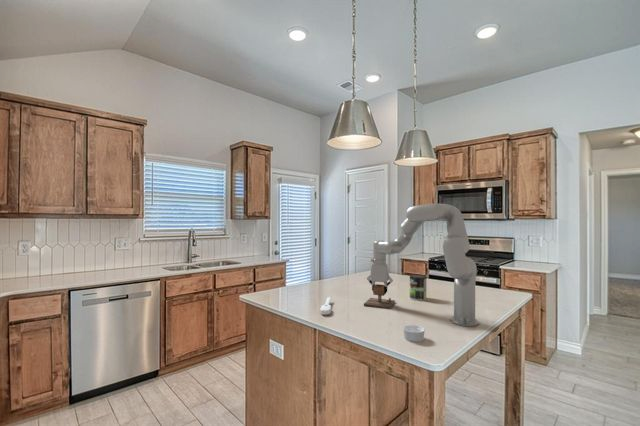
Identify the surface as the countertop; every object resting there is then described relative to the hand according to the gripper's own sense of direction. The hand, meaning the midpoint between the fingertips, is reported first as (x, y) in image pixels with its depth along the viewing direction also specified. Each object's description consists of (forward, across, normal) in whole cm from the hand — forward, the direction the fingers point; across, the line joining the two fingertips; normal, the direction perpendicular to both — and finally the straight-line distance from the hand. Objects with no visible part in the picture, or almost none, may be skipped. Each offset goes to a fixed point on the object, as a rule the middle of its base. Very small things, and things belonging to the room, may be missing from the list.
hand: (379, 292), depth 187 cm
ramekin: (+7, +25, -46) cm, 53 cm away
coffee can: (+7, +19, +23) cm, 31 cm away
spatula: (+7, -25, -20) cm, 33 cm away
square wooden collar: (+1, 0, +2) cm, 2 cm away
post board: (+7, 0, 0) cm, 7 cm away
